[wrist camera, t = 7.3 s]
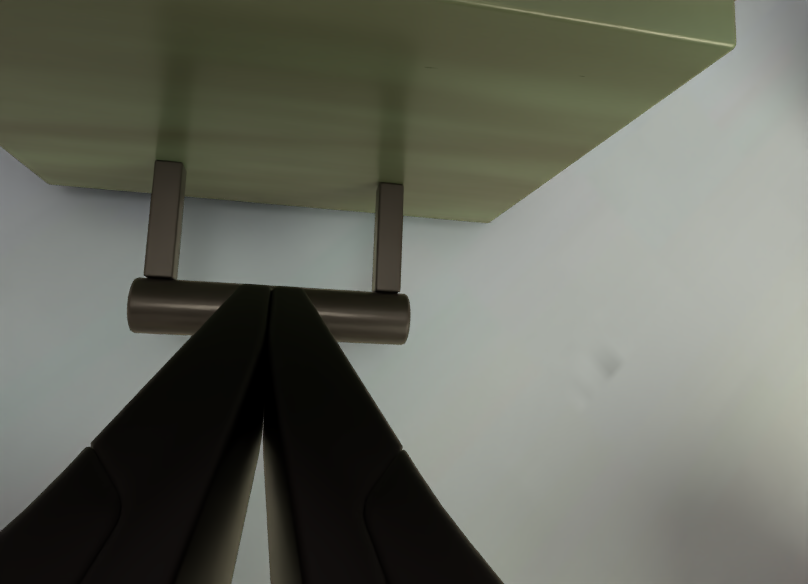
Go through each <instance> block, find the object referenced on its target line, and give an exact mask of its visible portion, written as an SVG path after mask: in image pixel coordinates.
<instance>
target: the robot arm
mask: <svg viewBox="0 0 808 584" xmlns="http://www.w3.org/2000/svg"><path fill="white" fill-rule="evenodd" d="M263 420H264V426H263ZM262 430H263V460H264V477H265V494H266V511H267V529H268V546H269V563H270V580H271V584H504V583H503V582H502V581H501V579H500V578H499V577H498V576H497V575H496V573H495V572H494V571H493V570H492V568H491V567H490V566H489V565H488V564H487V562H486V561H485V560H484V559H483V557H482V556H481V555H480V554H479V552H478V551H477V550H476V549H475V548H474V546H473V545H472V544H471V543H470V541H469V540H468V539H467V538H466V536H465V535H464V534H463V532H462V531H461V530H460V529H459V527H458V526H457V525H456V523H455V522H454V521H453V520H452V518H451V517H450V516H449V514H448V513H447V512H446V510H445V509H444V508H443V507H442V505H441V504H440V502H439V501H438V499H437V498H436V496H435V495H434V493H433V492H432V490H431V489H430V488H429V486H428V485H427V483H426V482H425V480H424V479H423V477H422V476H421V474H420V473H419V471H418V470H417V468H416V466H415V465H414V463H413V462H412V460H411V458H410V457H409V455H408V454H407V452H406V451H405V450H402V448H403V447H402V445H401V443H400V441H399V440H398V438H397V437H396V435H395V433H394V432H393V430H392V429H391V427H390V425H389V424H388V422H387V421H386V419H385V418H384V416H383V414H382V413H381V411H380V410H379V408H378V406H377V405H376V403H375V402H374V400H373V399H372V397H371V395H370V394H369V392H368V391H367V389H366V387H365V386H364V384H363V383H362V381H361V379H360V378H359V376H358V375H357V373H356V372H355V370H354V368H353V367H352V365H351V364H350V362H349V360H348V359H347V357H346V356H345V354H344V353H343V351H342V349H341V348H340V346H339V345H338V343H337V341H336V340H335V338H334V337H333V335H332V334H331V332H330V330H329V329H328V327H327V326H326V324H325V322H324V321H323V319H322V318H321V316H320V314H319V313H318V311H317V310H316V308H315V307H314V305H313V303H312V302H311V300H310V299H309V297H308V295H307V294H306V292H305V291H304V290H303V289H302V288H300V287H287V286H276V287H274V288H273V290H272V289H271V287H270V286H268V285H256V284H242V285H240V286H239V287H238V288H237V289H236V290H235V291H234V292H233V293H232V294H231V295H230V297H229V298H228V299H227V300H226V301H225V302H224V303H223V304H222V305H221V306H220V307H219V308H218V309H217V310H216V311H215V312H214V313H213V314H212V316H211V317H210V318H209V319H208V320H207V321H206V322H205V323H204V324H203V325H202V326H201V327H200V328H199V329H198V330H197V331H196V332H195V333H194V335H193V336H192V337H191V338H190V339H189V340H188V341H187V342H186V343H185V344H184V345H183V346H182V347H181V348H180V349H179V350H178V351H177V352H176V353H175V355H174V356H173V357H172V358H171V359H170V360H169V361H168V362H167V363H166V364H165V365H164V366H163V367H162V368H161V369H160V370H159V371H158V372H157V374H156V375H155V376H154V377H153V378H152V379H151V380H150V381H149V382H148V383H147V384H146V385H145V386H144V387H143V388H142V389H141V390H140V391H139V392H138V394H137V395H136V396H135V397H134V398H133V399H132V400H131V401H130V402H129V403H128V404H127V405H126V406H125V407H124V408H123V409H122V410H121V411H120V413H119V414H118V415H117V416H116V417H115V418H114V419H113V420H112V421H111V422H110V423H109V424H108V425H107V426H106V427H105V428H104V429H103V430H102V431H101V433H100V434H99V435H98V436H97V437H96V438H95V439H94V440H93V441H92V442H91V447H86V448H85V449H84V450H83V451H82V452H81V453H80V454H79V455H78V456H77V457H76V458H75V459H74V461H73V462H72V463H71V464H70V465H69V466H68V467H67V468H66V469H65V470H64V471H63V472H62V473H61V474H60V475H59V476H58V477H57V478H56V479H55V480H54V481H53V482H52V483H51V484H50V485H49V486H48V487H47V488H46V489H45V490H44V491H43V492H42V493H41V494H40V495H39V496H38V497H37V498H36V499H35V500H34V501H33V502H32V503H31V504H30V505H29V506H28V507H27V508H26V509H25V510H24V511H23V512H22V513H20V514H19V515H18V516H17V517H16V518H15V519H14V520H13V521H12V522H10V523H9V524H8V525H7V526H6V527H5V528H4V529H3V530H2V531H0V584H231V582H232V578H233V573H234V568H235V564H236V559H237V554H238V549H239V545H240V540H241V535H242V531H243V526H244V521H245V517H246V512H247V507H248V503H249V498H250V493H251V489H252V484H253V479H254V475H255V470H256V465H257V461H258V456H259V450H260V445H261V439H262Z"/></svg>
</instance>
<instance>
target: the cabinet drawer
mask: <svg viewBox="0 0 808 584" xmlns="http://www.w3.org/2000/svg"><path fill="white" fill-rule="evenodd" d="M735 46H736V26H735V5H734V0H0V146H1V147H2V148H3V149H5V150H6V151H7V152H8V153H10V154H11V155H12V156H13V157H15V158H16V159H17V160H18V161H20V162H21V163H22V164H24V165H25V166H26V167H27V168H29V169H30V170H31V171H32V172H34V173H35V174H36V175H37V176H39V177H40V178H41V179H42V180H44V181H45V182H46V183H47V184H51V185H62V186H73V187H85V188H96V189H107V190H118V191H130V192H141V193H152V194H151V204H150V214H149V224H148V235H147V245H146V255H145V266H144V276H146V277H147V278H141V277H139V278H136V279H134V281H133V283H132V285H131V287H130V291H129V295H128V302H127V319H128V325H129V328H130V330H131V331H132V332H134V333H148V334H170V335H192V336H193V335H194V333H195V332H196V331H197V330H198V329H199V328H200V327H201V326H202V325H203V324H204V323H205V322H206V321H207V320H208V319H209V318H210V317H211V316H212V314H213V313H214V312H215V311H216V310H217V309H218V308H219V307H220V306H221V305H222V304H223V303H224V302H225V301H226V300H227V299H228V298H229V297H230V295H231V294H232V293H233V292H234V291H235V290H236V289H237V288H238V287H239V286H240V285H242V284H237V283H221V282H205V281H189V280H177V276H178V265H179V254H180V243H181V231H182V220H183V209H184V198H185V196H186V197H198V198H209V199H220V200H232V201H243V202H254V203H266V204H277V205H288V206H299V207H311V208H322V209H333V210H345V211H356V212H367V213H375V228H374V251H373V275H372V292H366V291H350V290H334V289H318V288H302V287H300V288H302V289H303V290H304V291H305V292H306V294H307V295H308V297H309V299H310V300H311V302H312V303H313V305H314V307H315V308H316V310H317V311H318V313H319V314H320V316H321V318H322V319H323V321H324V322H325V324H326V326H327V327H328V329H329V330H330V332H331V334H332V335H333V337H334V338H335V340H336V341H337V342H349V343H371V344H393V345H402V344H405V342H406V340H407V337H408V334H409V328H410V302H409V299H408V296H407V295H405V294H399V293H398V292H400V287H401V259H402V231H403V216H413V217H424V218H435V219H447V220H458V221H469V222H480V223H490V222H491V221H492V220H494V219H495V218H497V217H498V216H499V215H501V214H502V213H504V212H505V211H506V210H508V209H509V208H511V207H512V206H513V205H515V204H516V203H518V202H519V201H521V200H522V199H523V198H525V197H526V196H528V195H529V194H530V193H532V192H533V191H535V190H536V189H537V188H539V187H540V186H542V185H543V184H544V183H546V182H547V181H549V180H550V179H551V178H553V177H554V176H556V175H557V174H558V173H560V172H561V171H563V170H564V169H566V168H567V167H568V166H570V165H571V164H573V163H574V162H575V161H577V160H578V159H580V158H581V157H582V156H584V155H585V154H587V153H588V152H589V151H591V150H592V149H594V148H595V147H596V146H598V145H599V144H601V143H602V142H603V141H605V140H606V139H608V138H609V137H611V136H612V135H613V134H615V133H616V132H618V131H619V130H620V129H622V128H623V127H625V126H626V125H627V124H629V123H630V122H632V121H633V120H634V119H636V118H637V117H639V116H640V115H641V114H643V113H644V112H646V111H647V110H648V109H650V108H651V107H653V106H654V105H656V104H657V103H658V102H660V101H661V100H663V99H664V98H665V97H667V96H668V95H670V94H671V93H672V92H674V91H675V90H677V89H678V88H679V87H681V86H682V85H684V84H685V83H686V82H688V81H689V80H691V79H692V78H693V77H695V76H696V75H698V74H699V73H701V72H702V71H703V70H705V69H706V68H708V67H709V66H710V65H712V64H713V63H715V62H716V61H717V60H719V59H720V58H722V57H723V56H724V55H726V54H727V53H729V52H730V51H731V50H733V49H734V47H735ZM268 286H270V285H268ZM270 287H271V289H272V290H273V288H274V287H276V286H270Z"/></svg>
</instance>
